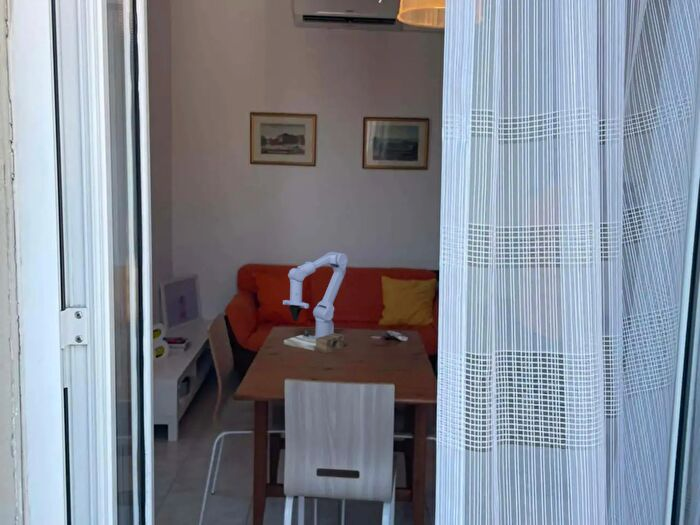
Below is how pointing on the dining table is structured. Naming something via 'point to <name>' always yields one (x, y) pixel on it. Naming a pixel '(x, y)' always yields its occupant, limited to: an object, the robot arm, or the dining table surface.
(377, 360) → the dining table surface
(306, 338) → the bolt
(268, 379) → the dining table surface
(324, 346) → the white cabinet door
